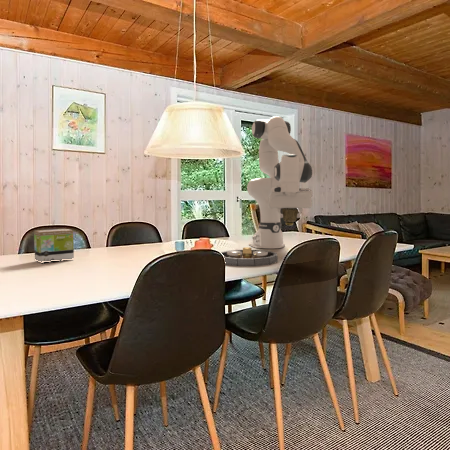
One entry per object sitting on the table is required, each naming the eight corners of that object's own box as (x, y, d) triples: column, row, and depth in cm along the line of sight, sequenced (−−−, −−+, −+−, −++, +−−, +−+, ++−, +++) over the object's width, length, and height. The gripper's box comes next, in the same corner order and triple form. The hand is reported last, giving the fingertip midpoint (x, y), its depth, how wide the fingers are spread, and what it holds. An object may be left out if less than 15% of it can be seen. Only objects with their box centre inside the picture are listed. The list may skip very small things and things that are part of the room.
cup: (296, 226, 183) (297, 209, 182) (280, 225, 184) (281, 208, 184) (297, 225, 190) (298, 208, 189) (282, 224, 192) (283, 207, 191)
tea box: (41, 264, 178) (39, 231, 176) (34, 261, 185) (33, 230, 184) (74, 260, 188) (73, 229, 186) (67, 257, 195) (65, 228, 194)
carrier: (208, 258, 187) (208, 246, 187) (258, 254, 199) (258, 242, 198) (233, 268, 163) (233, 254, 163) (288, 262, 174) (288, 249, 174)
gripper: (311, 188, 188) (311, 217, 189) (268, 188, 190) (268, 217, 191) (313, 188, 182) (312, 218, 183) (268, 188, 183) (268, 218, 185)
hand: (289, 217), depth 187 cm, fingers closed on cup, 6 cm apart
